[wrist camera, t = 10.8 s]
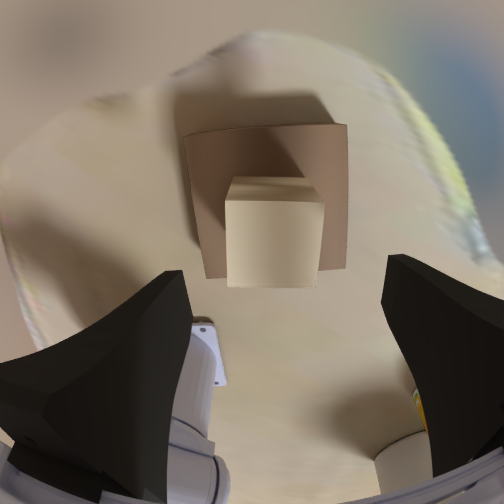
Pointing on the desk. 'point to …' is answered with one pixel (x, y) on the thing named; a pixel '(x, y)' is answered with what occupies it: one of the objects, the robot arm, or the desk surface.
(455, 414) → the robot arm
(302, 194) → the maple block
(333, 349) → the desk surface
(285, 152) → the walnut block
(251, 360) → the desk surface
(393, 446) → the cylinder vase
